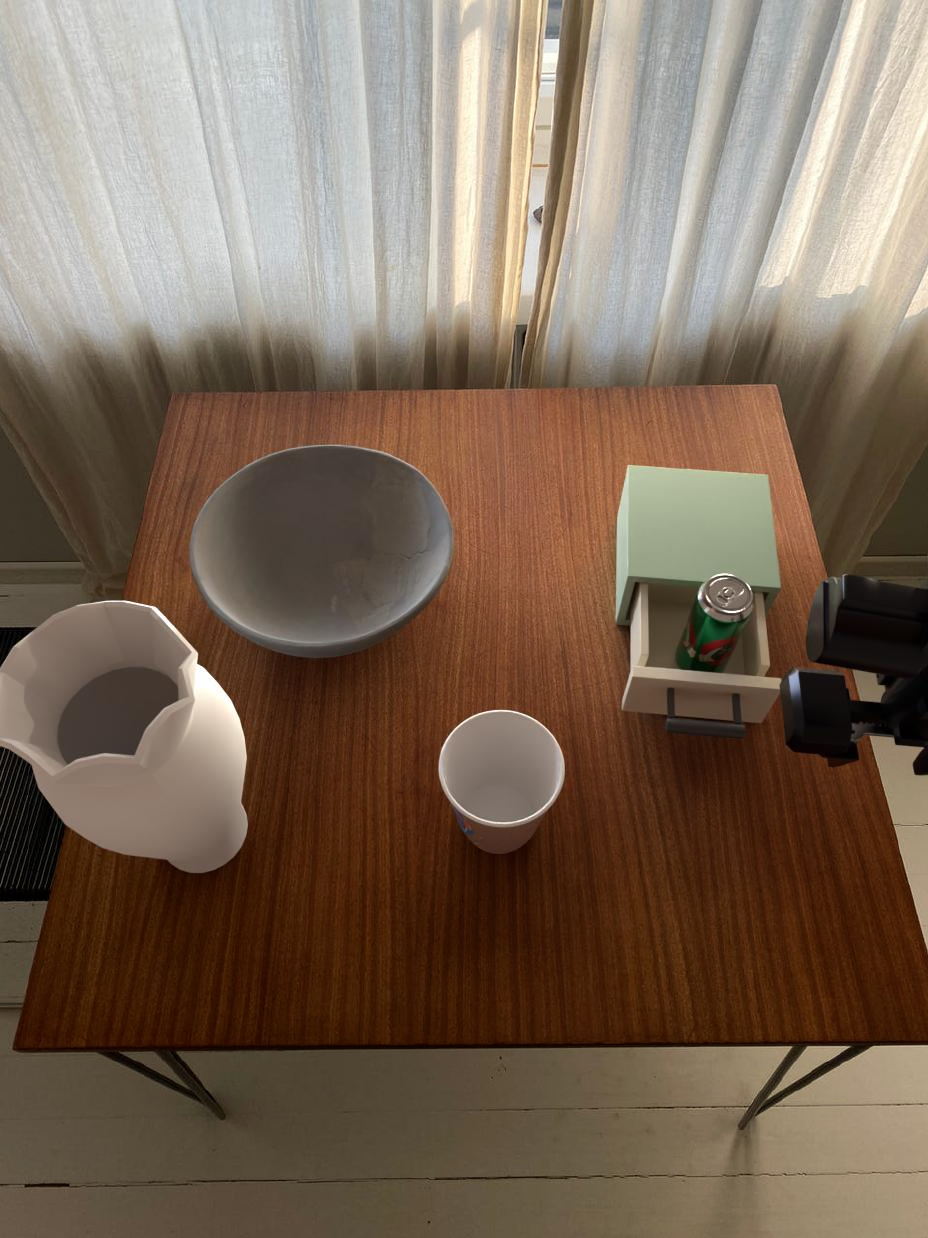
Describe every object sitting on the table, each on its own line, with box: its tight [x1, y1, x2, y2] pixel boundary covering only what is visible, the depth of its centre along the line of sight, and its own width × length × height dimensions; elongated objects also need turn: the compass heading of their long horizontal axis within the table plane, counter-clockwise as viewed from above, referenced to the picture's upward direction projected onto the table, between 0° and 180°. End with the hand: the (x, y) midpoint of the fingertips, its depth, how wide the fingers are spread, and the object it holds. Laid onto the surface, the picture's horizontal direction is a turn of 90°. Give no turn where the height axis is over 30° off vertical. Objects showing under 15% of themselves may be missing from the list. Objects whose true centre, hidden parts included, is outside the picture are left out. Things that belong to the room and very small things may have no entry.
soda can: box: [675, 574, 754, 673], centre depth 83 cm, size 5×5×12 cm
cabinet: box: [615, 464, 782, 627], centre depth 93 cm, size 15×15×9 cm
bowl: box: [189, 444, 455, 659], centre depth 91 cm, size 26×26×10 cm
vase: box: [0, 600, 249, 874], centre depth 69 cm, size 15×15×29 cm
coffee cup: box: [438, 709, 566, 855], centre depth 76 cm, size 10×10×12 cm
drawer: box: [621, 582, 782, 741], centre depth 85 cm, size 18×14×7 cm
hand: (872, 765), depth 71 cm, fingers open, 6 cm apart
